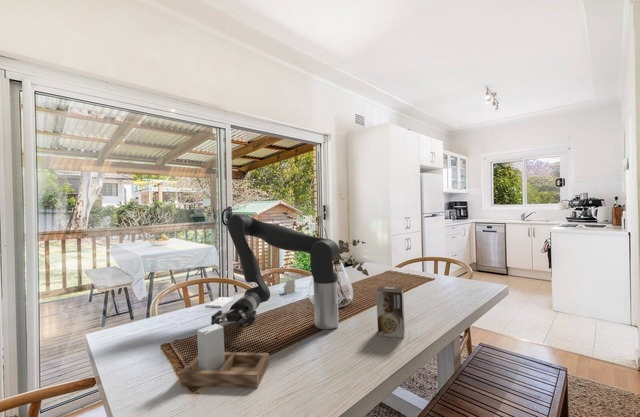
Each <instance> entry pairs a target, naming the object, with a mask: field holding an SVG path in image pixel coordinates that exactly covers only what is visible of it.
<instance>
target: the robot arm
mask: <svg viewBox="0 0 640 417" xmlns="http://www.w3.org/2000/svg"><path fill="white" fill-rule="evenodd" d="M226 225H227V230H228V231H227V232H228V233H229V236H230V238H231V241H232V242H233V245H234V248H235V250H236V253H237V255H238V257H239V260H240V264H241V269H242V272H243V273H242V274H243V276H244V281H245V282H246V283H255V284H256V285H257V286H254V287H252V288H249V289H246V290H245V292H244V293H243V294H244V295H243V296H242V297H239V299H237V300H236V301H235V302H234V303H233V304H232V305H231V306H230V308H229V310H227V311H226V312H223V310H218V311H217V312H215V313H213V314H212V315H211V317H210V318H211V323H210V326H211V325H214V324H218V325H222V324H223V325H226V324H229V323H237V329H238V330H242V328H244V326H246V325H248V324H249V325H253V324H254V323H255V322H256V320H257V309H258V307H259V306H260V304H263V303H264V302H267V301H269V300H270V298H271V291H270V288H269V287H268V285H267V283H266V282H265V279H264V277H263V275H262V273H261V268H260V265H259V262H258V261H259V260H258V259H257V257H256V255H255V253H254V251H253V249H251V248H250V247H251V246H249V243H248V241H247V239H246V237H247V236H248V237H252V238H253V237H254V238H258V239H260V240H263V241H264V242H265V243H266V244H268V245H269V246H270V247H274V248H276V249H280V250H283V251H287V252H288V251H289V252H301V253H306V254H309V258H310V259H309V260H310V272H311V275H312V281H313V283H312V284H313V309H314V310H313V311H314V312H313V313H314V314H313V315H314V327H315V328H317V329H320V330H330V329H331V330H332V329H335V328H336V329H337V328H339V298H338V275H337V273H336V272H335V271H334V265H333V264H334V263H333V262H334V261H335V260H337V258H338V257H339V255H340V247H339V245H338V243H336V242H335V241H334V240H332V239H330V238H324V237H318V236H313V235H309V234H306V233H304V232H301V231H298V230H294V229H292V228H288V227H286V226H283V225H277V224H275V223H267V222H264V221H261V220H258V219H257V218H254V217H252V216H249V215H246V214H232V215H231V216H230V217H228V220H227V224H226Z"/></svg>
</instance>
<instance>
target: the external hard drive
mask: <svg viewBox="0 0 640 417" xmlns="http://www.w3.org/2000/svg"><path fill="white" fill-rule="evenodd" d="M222 299H223V300H222ZM234 300H235V298H234V297H233V296H232V297H230V298H229V297H228V296H227V297H226V296H219V297H218V298H216V299H214V300H212V301H211V302H209V303H207V304H206V305H205V308H217V309H218V308H224V307H225V306H226V305H228V304H229V303H231V302H232V301H234Z"/></svg>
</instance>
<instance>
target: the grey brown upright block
mask: <svg viewBox="0 0 640 417" xmlns="http://www.w3.org/2000/svg"><path fill="white" fill-rule="evenodd" d="M375 294H376V315H377V316H376V317H377V336H378V337H379V336H380V337H390V338H398V339H399V338H400V339H404V338H405V333H406V330H405V306H404V287H401V286H400V287H399V286H398V287H397V286H381V285H379V286H378V287H377V289H376V292H375Z"/></svg>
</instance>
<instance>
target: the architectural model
mask: <svg viewBox="0 0 640 417" xmlns="http://www.w3.org/2000/svg"><path fill="white" fill-rule="evenodd" d="M295 283H296V282H295V279H288V280H286V281H285V284H284V286H282V289H283V294H284V295H291V294H293V293H294V294H295V293H296V289H295V288H296V287H297V285H296V284H295Z"/></svg>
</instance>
